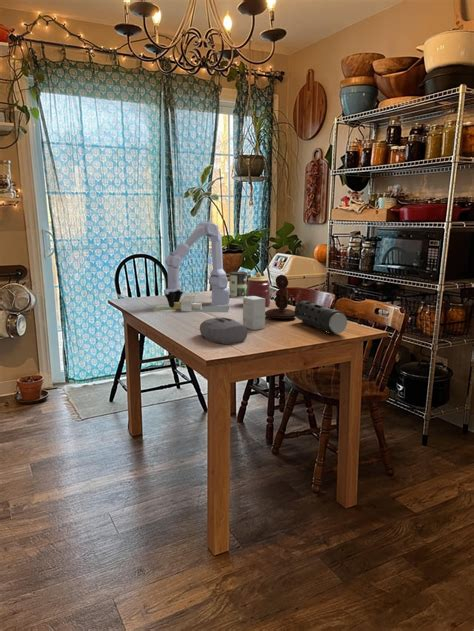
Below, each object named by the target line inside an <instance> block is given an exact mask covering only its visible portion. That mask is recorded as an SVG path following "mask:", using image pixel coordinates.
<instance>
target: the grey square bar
mask: <svg viewBox="0 0 474 631" xmlns="http://www.w3.org/2000/svg"><path fill="white" fill-rule="evenodd" d="M180 302H181V311H185V312H184V313H193V312H192V310H193V303H196V301H195V296H192V295H189V296H187V295H184V296H183V298H182V299H181V301H180Z"/></svg>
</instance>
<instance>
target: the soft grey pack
mask: <svg viewBox="0 0 474 631" xmlns="http://www.w3.org/2000/svg"><path fill="white" fill-rule="evenodd" d="M247 329H248V328H246V327H245V326H244V325H243V323H241V322H239V321H236V320H235V319H232V318H227V317H212V318H209V319H208V318H207V319H205V320H203V321H202V323H200V326H199V332H200V335H201V336H202V337H204V338H205V339H207V340H208V341H210V340H211V342H213V341H214V343H216V342H217V344H223V345H234V344H238V343H242V342H244V341H245V340H246V339H247V336H248V330H247ZM233 343H234V344H233Z"/></svg>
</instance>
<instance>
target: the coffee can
mask: <svg viewBox="0 0 474 631" xmlns="http://www.w3.org/2000/svg"><path fill="white" fill-rule="evenodd" d="M247 282H248V273H247V272H246V271H230V272H229V298H233V299H243V297H246V289H247V285H246V283H247Z"/></svg>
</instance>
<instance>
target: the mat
mask: <svg viewBox="0 0 474 631" xmlns="http://www.w3.org/2000/svg"><path fill="white" fill-rule="evenodd" d="M229 309H230V306H229V305H202V309H201V310H192V312H191V313H229V311H230V310H229ZM152 312H168V313H171V312H176V313H177V312H179V313H180V312H181V313H182V312H184V313H186V312H185V311H181V309H171V307H169V304H158V305H157V306H156V307H155V308H154V309H153V310H152Z"/></svg>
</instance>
